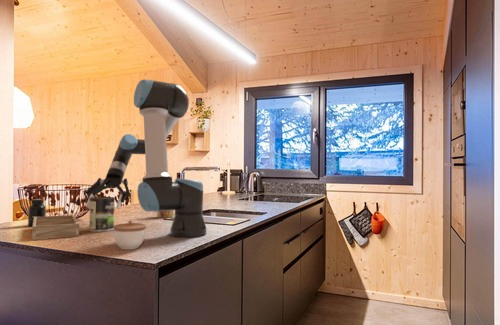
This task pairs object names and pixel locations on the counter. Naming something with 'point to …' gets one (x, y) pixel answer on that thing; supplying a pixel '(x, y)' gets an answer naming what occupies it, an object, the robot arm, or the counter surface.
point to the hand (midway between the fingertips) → (102, 207)
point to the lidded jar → (129, 235)
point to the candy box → (165, 213)
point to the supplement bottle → (36, 210)
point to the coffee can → (101, 214)
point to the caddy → (55, 227)
